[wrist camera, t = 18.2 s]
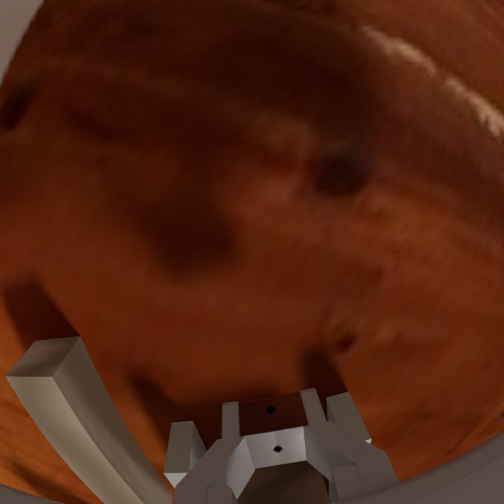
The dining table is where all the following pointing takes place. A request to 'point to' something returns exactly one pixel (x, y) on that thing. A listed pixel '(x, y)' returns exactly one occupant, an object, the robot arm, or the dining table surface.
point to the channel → (192, 449)
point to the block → (285, 485)
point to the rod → (84, 422)
